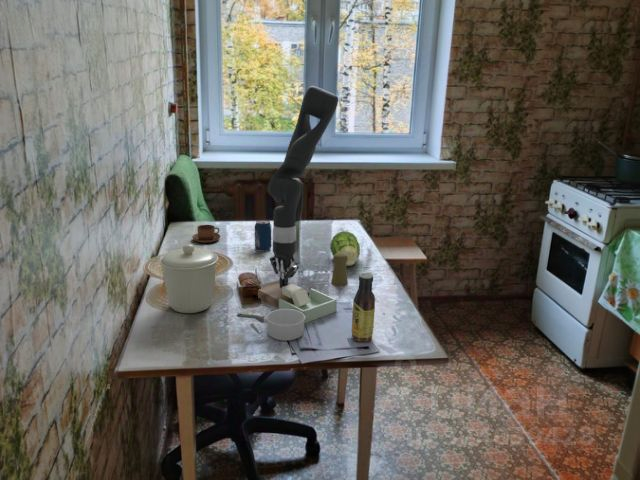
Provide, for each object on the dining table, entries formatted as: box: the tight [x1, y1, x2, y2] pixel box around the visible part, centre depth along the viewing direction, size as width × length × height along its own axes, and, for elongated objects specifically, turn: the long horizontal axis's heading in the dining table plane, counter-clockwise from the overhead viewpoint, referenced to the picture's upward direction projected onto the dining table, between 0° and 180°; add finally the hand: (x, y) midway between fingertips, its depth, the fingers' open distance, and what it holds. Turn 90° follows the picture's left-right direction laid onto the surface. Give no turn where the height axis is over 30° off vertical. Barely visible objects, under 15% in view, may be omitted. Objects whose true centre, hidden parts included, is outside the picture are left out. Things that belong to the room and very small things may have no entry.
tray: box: [279, 288, 338, 324], centre depth 183 cm, size 12×14×4 cm
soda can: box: [254, 219, 272, 252], centre depth 239 cm, size 7×7×12 cm
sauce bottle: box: [351, 272, 376, 343], centre depth 163 cm, size 7×6×20 cm
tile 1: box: [282, 283, 302, 298], centre depth 188 cm, size 4×4×2 cm
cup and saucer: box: [191, 224, 221, 244], centre depth 249 cm, size 12×12×6 cm
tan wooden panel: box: [258, 279, 310, 310], centre depth 192 cm, size 15×12×3 cm
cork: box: [330, 253, 349, 287], centre depth 205 cm, size 6×6×11 cm
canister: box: [158, 243, 219, 314], centre depth 181 cm, size 18×18×21 cm
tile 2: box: [291, 289, 311, 307], centre depth 184 cm, size 4×4×2 cm
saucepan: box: [236, 308, 305, 342], centre depth 167 cm, size 12×20×6 cm, turn 86°
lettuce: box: [329, 231, 361, 267], centre depth 225 cm, size 12×21×11 cm, turn 5°
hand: (283, 288), depth 190 cm, fingers closed
